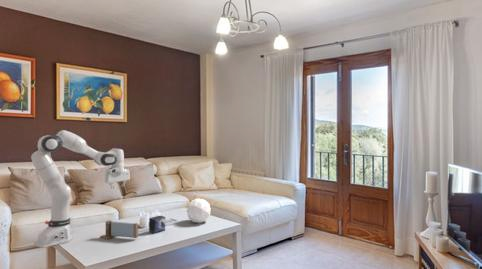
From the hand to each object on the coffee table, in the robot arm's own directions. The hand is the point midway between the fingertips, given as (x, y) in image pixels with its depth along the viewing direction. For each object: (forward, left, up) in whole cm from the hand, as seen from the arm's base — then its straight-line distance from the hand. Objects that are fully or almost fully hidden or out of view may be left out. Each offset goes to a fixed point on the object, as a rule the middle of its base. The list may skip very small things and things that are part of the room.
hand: (117, 187), depth 252 cm
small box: (+12, -30, -31) cm, 45 cm away
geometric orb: (+48, -39, -31) cm, 69 cm away
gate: (-12, -24, -30) cm, 40 cm away
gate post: (-16, -12, -31) cm, 37 cm away
